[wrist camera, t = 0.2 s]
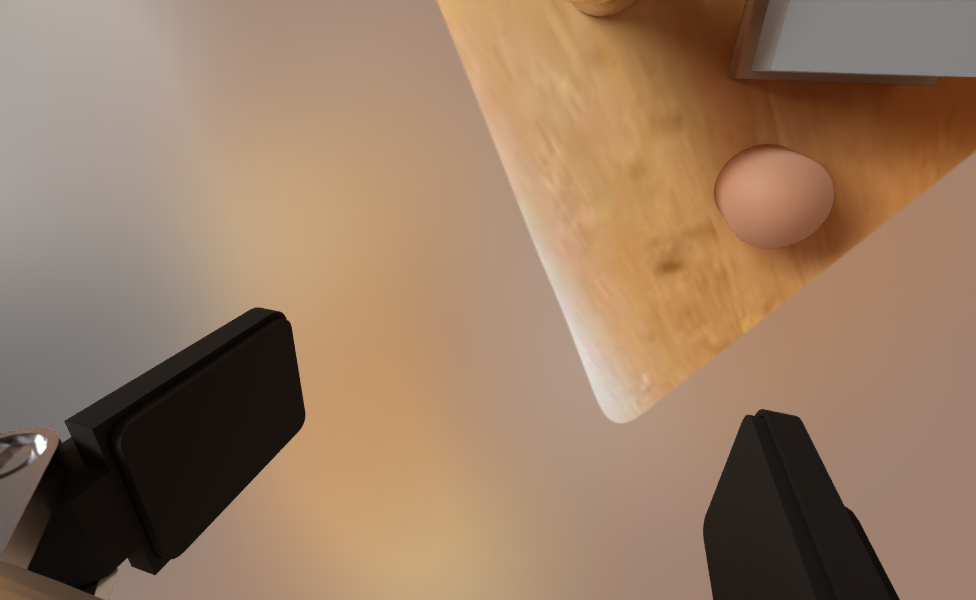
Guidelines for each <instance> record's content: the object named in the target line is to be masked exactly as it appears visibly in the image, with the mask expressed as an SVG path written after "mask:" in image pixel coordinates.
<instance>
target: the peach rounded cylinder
mask: <svg viewBox="0 0 976 600" xmlns="http://www.w3.org/2000/svg"><path fill="white" fill-rule="evenodd" d="M714 197H715V202H716V205H717V207H718V209H719V211H720V212H721V214H722V216H723V217H724V219H725V220H726V222H727V223H728V225H729V226H730V228H731V229H732V231H733V232H734V233H735V235H736V236H737V237H739V238H740V239H741V240H742V241H744V242H746V243H748V244H750V245H753V246H756V247H761V248H781V247H786V246H789V245H792V244H795V243H798V242H800V241H802V240H804V239H805V238H807V237H808V236H810V235H811V234H812V233H814V232H815V231H816V230H817V229H818V228H819V227H820V226H821V225H822V224H823V222H824V221H825V220H826V218H827V217H828V215H829V213H830V211H831V208H832V205H833V201H834V186H833V182H832V179H831V177H830V175H829V174H828V172H827V171H826V170H825V169H824V168H823V167H822V166H821V165H820V164H819V163H817V162H815V161H814V160H812V159H810V158H807V157H805V156H803V155H801V154H799V153H797V152H795V151H793V150H790V149H788V148H786V147H783V146H780V145H773V144H765V145H758V146H754V147H751V148H748V149H746V150H744V151H742V152H740V153H738V154H737V155H735V156H734V157H733V158H731V159H730V160H729V161H728V162H727V163H726V165H725V166H724V167H723V168H722V170H721V171H720V173H719V175H718V177H717V180H716V183H715V188H714Z"/></svg>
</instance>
